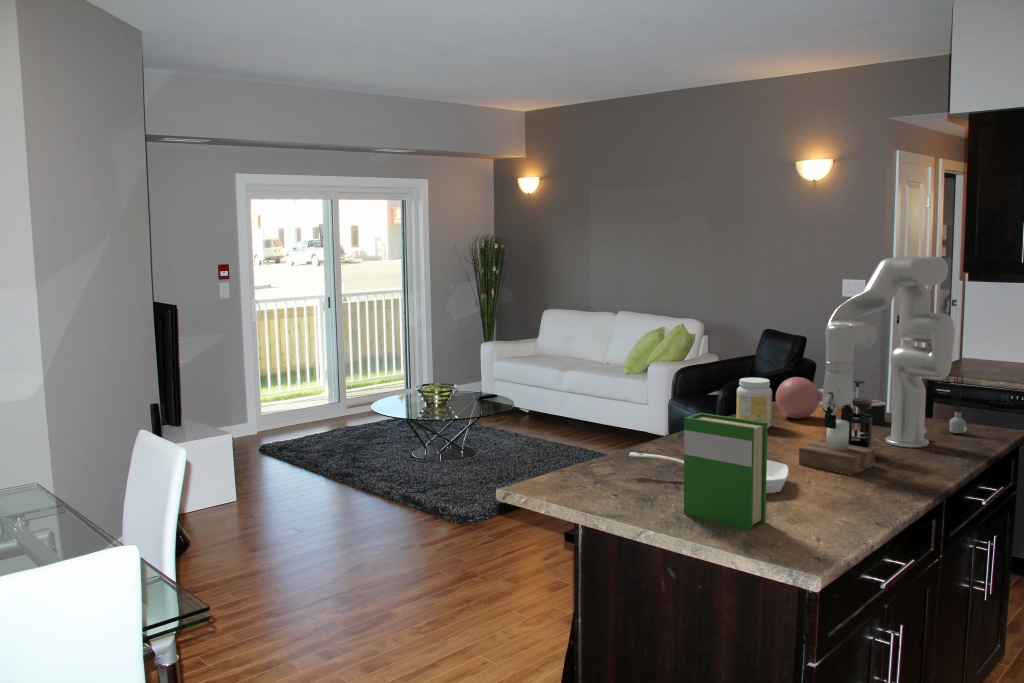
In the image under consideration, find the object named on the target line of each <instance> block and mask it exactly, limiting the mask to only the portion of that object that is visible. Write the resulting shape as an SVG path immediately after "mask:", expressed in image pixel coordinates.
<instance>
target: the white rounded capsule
mask: <svg viewBox="0 0 1024 683" xmlns="http://www.w3.org/2000/svg"><path fill="white" fill-rule="evenodd" d="M848 443H849V422H848V421H845V420H841V419H837V418H836V428H835V429H832V428H826V448H827V449H829V450H834V451H847V450H848Z"/></svg>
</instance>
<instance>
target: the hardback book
mask: <svg viewBox="0 0 1024 683" xmlns="http://www.w3.org/2000/svg"><path fill="white" fill-rule="evenodd" d="M683 421H684V422H683V424H684V426H683V429H684V430H683V432H684V433H683V436H684V438H683V439H684V440H683V447H684V448H683V461H684V464H683V514H684V515H685V514H687V516H689V515H691V517H693V516H695V518H697V517H699V518H698V519H701V518H702V520H705V519H706V521H709V520H710V521H711V522H713V523H717V522H718V524H721V523H722V524H723V525H725V524H726V525H727V526H729V525H730V526H731V527H734V528H738V529H741V530H746V531H750V532H751V531H753V528H754V527H753V526H754V524H757V523H761V524H765V523H766V522H767V520H766V519H767V515H766V514H767V494H766V477H767V460H768V428H767V425H768V423H767V422H760V421H753V420H746V419H740V418H736V417H732V416H727V415H726V416H724V415H719V414H711V413H704V412H699V413H695V414H693V415H689V416H686V417H684V419H683ZM730 526H729V527H730Z"/></svg>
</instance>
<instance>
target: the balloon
mask: <svg viewBox="0 0 1024 683" xmlns="http://www.w3.org/2000/svg"><path fill="white" fill-rule="evenodd" d="M822 401H823V391H822V390H820V389H819V388H817V386H816V385H815V384H814V383H813V381H811V380H809V379H807V378H805V377H800V376H793V377H789V378H787V379H785V380H784V381H782V382H781V383H780V384H779V386H778V387H777V390H776V391H775V403H776V406H777V408H778V409H779V411H780V412H781V413H782V414H784V415H785V416H787V417H789V418H791V419H796V420H798V419H801V420H802V419H805V418H808V417H810V416H811V415H812V414H814V413H815V412H816V410H817V409H818V407H819V404H820V403H822Z"/></svg>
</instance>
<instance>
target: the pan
mask: <svg viewBox="0 0 1024 683" xmlns="http://www.w3.org/2000/svg"><path fill="white" fill-rule="evenodd" d="M628 457H633V458H634V457H636V458H655V459H662V460H663V459H664V460H667V461H673V462H675V463H680V464H683V465H684V460H683V459H679V458H676V457H675V458H674V457H670V456H666V455H660V454H653V453H644V452H643V453H642V452H635V451H631V452H629V454H628ZM789 470H790V469H789V466H788V465H787V464H785V463H782V462H777V461H773V460H768V459H767V477H766V495H769V494H768V493H772V494H777V493H776V492H779V493H781V490H782V488H783V487H784V485H785V483H786V481H787V479H788V477H789V472H790V471H789Z"/></svg>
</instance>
